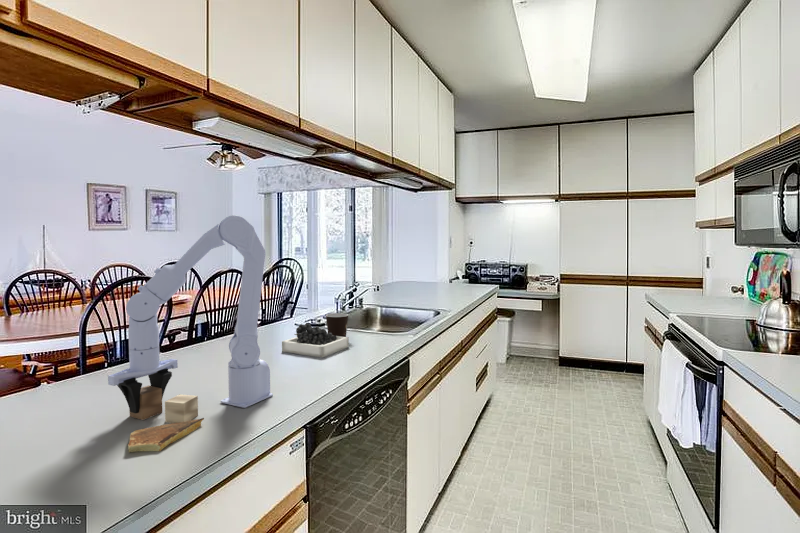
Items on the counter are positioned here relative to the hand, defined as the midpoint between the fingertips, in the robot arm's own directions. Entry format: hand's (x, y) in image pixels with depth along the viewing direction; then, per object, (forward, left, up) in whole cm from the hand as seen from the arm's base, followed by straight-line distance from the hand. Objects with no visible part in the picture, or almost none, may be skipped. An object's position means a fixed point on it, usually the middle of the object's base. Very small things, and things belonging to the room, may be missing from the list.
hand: (146, 408), depth 96 cm
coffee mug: (-80, -3, -2) cm, 80 cm away
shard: (+6, +13, -2) cm, 14 cm away
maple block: (-2, +9, -2) cm, 9 cm away
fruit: (-64, -2, -1) cm, 64 cm away
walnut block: (0, 0, -1) cm, 1 cm away
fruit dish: (-64, -2, -1) cm, 64 cm away
